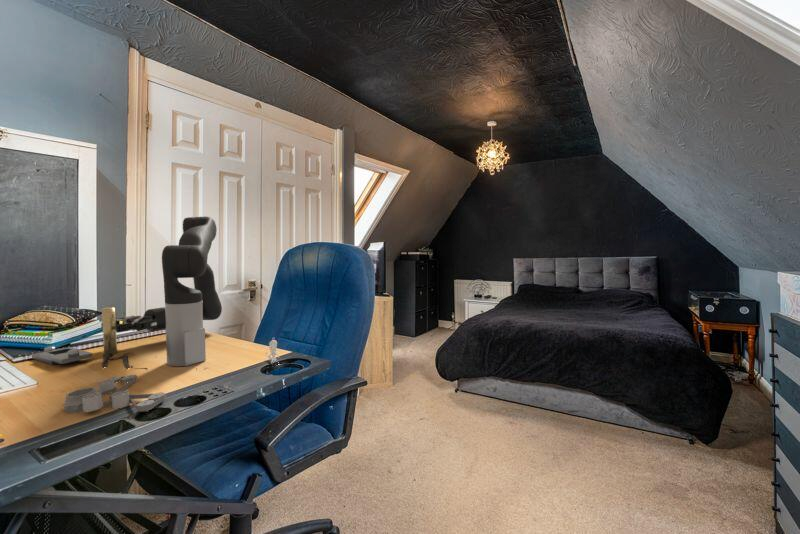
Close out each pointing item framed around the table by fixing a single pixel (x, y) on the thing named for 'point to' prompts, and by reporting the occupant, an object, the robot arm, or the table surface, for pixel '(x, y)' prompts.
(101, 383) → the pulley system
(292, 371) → the table surface
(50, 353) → the grey base plate
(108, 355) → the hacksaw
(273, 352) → the toy figurine
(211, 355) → the table surface
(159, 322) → the robot arm
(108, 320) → the pin
